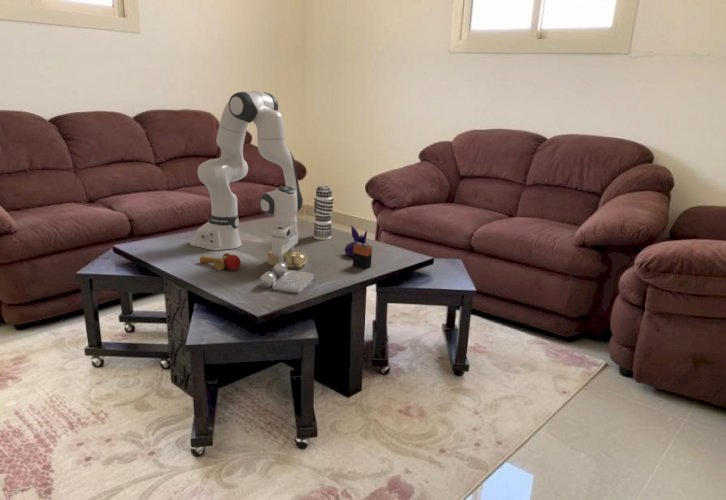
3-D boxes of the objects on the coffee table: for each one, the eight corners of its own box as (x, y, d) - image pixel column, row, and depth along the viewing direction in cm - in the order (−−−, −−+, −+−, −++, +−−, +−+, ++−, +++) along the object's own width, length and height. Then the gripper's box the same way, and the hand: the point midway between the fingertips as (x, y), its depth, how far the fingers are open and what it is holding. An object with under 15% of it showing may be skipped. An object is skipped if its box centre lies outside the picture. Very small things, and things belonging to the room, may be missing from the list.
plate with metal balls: (299, 293, 187) (299, 280, 185) (258, 287, 190) (258, 274, 189) (313, 278, 202) (314, 266, 200) (276, 272, 205) (276, 260, 204)
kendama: (195, 269, 207) (232, 271, 200) (194, 253, 207) (232, 255, 200) (208, 267, 215) (244, 269, 208) (207, 251, 214) (244, 253, 207)
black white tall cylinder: (331, 240, 251) (333, 189, 243) (312, 239, 250) (313, 187, 243) (332, 235, 259) (334, 185, 252) (313, 234, 259) (315, 184, 252)
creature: (374, 250, 240) (376, 224, 236) (357, 261, 224) (358, 233, 220) (357, 247, 243) (358, 221, 240) (338, 257, 228) (340, 230, 224)
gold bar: (302, 269, 211) (302, 257, 209) (267, 264, 214) (267, 252, 212) (307, 264, 216) (307, 253, 215) (273, 259, 220) (273, 248, 218)
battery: (365, 269, 215) (367, 246, 212) (352, 265, 218) (353, 242, 215) (371, 266, 218) (372, 243, 215) (357, 263, 222) (359, 240, 219)
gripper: (288, 220, 221) (287, 251, 225) (268, 232, 202) (268, 266, 206) (302, 222, 220) (301, 253, 224) (283, 234, 201) (283, 268, 205)
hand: (285, 259), depth 215 cm, fingers open, 7 cm apart
